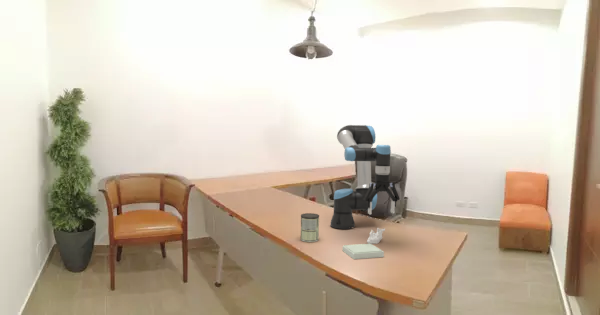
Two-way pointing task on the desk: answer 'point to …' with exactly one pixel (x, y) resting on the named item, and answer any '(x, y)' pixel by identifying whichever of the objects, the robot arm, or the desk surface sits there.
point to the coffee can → (309, 227)
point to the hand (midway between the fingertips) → (381, 213)
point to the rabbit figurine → (375, 236)
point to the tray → (363, 251)
